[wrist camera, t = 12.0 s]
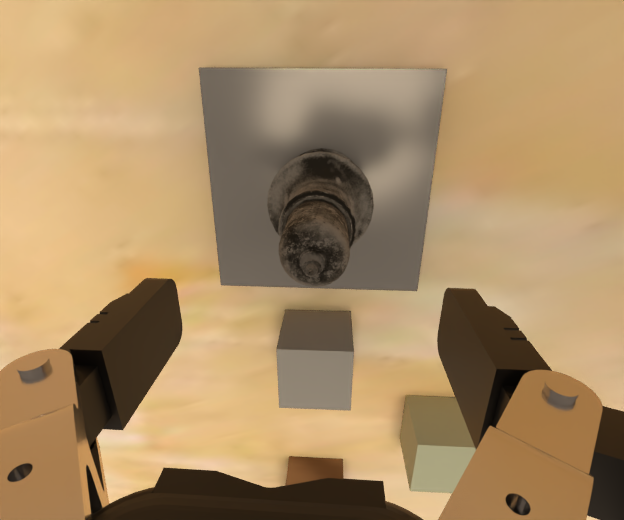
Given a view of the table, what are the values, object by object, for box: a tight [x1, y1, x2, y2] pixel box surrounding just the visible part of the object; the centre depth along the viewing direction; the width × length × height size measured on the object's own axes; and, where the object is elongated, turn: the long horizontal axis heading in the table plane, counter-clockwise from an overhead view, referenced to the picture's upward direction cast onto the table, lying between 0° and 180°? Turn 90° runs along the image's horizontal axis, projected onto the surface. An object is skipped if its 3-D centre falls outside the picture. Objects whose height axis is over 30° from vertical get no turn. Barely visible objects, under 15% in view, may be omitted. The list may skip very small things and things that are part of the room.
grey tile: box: [199, 68, 447, 291], centre depth 25 cm, size 14×14×1 cm
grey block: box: [277, 310, 354, 410], centre depth 28 cm, size 5×5×5 cm
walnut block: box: [286, 456, 343, 485], centre depth 34 cm, size 5×5×5 cm
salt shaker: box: [267, 148, 374, 287], centre depth 19 cm, size 6×6×12 cm
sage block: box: [400, 395, 476, 493], centre depth 30 cm, size 5×5×5 cm
